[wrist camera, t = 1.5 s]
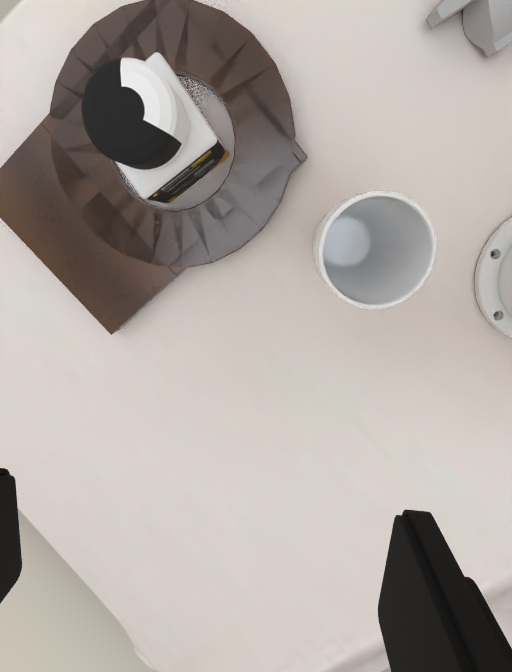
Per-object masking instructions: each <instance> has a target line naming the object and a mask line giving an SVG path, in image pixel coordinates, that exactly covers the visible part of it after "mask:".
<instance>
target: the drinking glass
mask: <svg viewBox="0 0 512 672" xmlns="http://www.w3.org/2000/svg"><path fill="white" fill-rule="evenodd" d="M312 252H313V260H314V264H315V267H316V270H317V272H318V274H319V276H320V278H321V280H322V281H323V282H324V284H325V285H326V286H327V287H328V289H329V290H331V291H332V292H333V293H334V294H335V295H336V296H337V297H339V298H340V299H341V300H343V301H344V302H346V303H348V304H350V305H352V306H355V307H358V308H363V309H372V310H373V309H384V308H389V307H392V306H395V305H398V304H400V303H402V302H404V301H406V300H407V299H409V298H410V297H411V296H413V295H414V294H415V293H416V292H417V291H418V290H419V289H420V288H421V287H422V286H423V285H424V283H425V282H426V280H427V279H428V277H429V275H430V273H431V271H432V269H433V266H434V263H435V259H436V254H437V239H436V233H435V229H434V227H433V224H432V222H431V220H430V218H429V216H428V215H427V213H426V212H425V211H424V210H423V208H422V207H421V206H420V205H418V204H417V203H416V202H415V201H413V200H412V199H410V198H408V197H406V196H404V195H402V194H399V193H395V192H390V191H372V192H365V193H361V194H357V195H354V196H351V197H349V198H347V199H345V200H343V201H341V202H340V203H338V204H337V205H335V206H334V207H333V208H332V209H331V210H329V212H328V213H327V214H326V215H325V216H324V217H323V219H322V220H321V222H320V223H319V225H318V227H317V228H316V231H315V233H314V237H313V247H312Z"/></svg>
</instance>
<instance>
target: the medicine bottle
mask: <svg viewBox="0 0 512 672" xmlns="http://www.w3.org/2000/svg"><path fill="white" fill-rule="evenodd" d="M81 111H82V119H83V124H84V127H85V130H86V132H87V134H88V136H89V138H90V140H91V141H92V143H93V144H94V145H95V147H96V148H97V149H98V150H99V151H100V152H101V153H102V154H104V155H105V156H106V157H108V158H110V159H111V160H113V161H115V162H116V163H117V165H118V166H119V168H120V169H121V170H122V172H123V173H124V174H125V176H126V177H127V179H128V180H129V181H130V183H131V184H132V185H133V187H134V188H135V190H136V191H137V192H138V194H139V195H140V196H141V197H142V198H143V199H148V200H153V201H159V202H164V203H170V202H171V201H172V200H174V199H175V198H176V197H177V196H179V195H180V194H181V193H182V192H184V191H185V190H186V189H188V188H189V187H190V186H191V185H193V184H194V183H195V182H197V181H198V180H199V179H200V178H202V177H203V176H204V175H205V174H207V173H208V172H209V171H211V170H212V169H213V168H214V167H216V166H217V165H218V164H220V163H221V162H222V161H223V160H225V159H226V158H227V157H228V151H227V150H226V148H225V147H224V145H223V144H222V142H221V141H220V139H219V138H218V136H217V135H216V133H215V132H214V130H213V129H212V127H211V126H210V124H209V123H208V121H207V120H206V118H205V117H204V115H203V114H202V112H201V111H200V109H199V108H198V106H197V105H196V103H195V102H194V100H193V99H192V97H191V96H190V94H189V93H188V91H187V90H186V89H185V87H184V86H183V84H182V83H181V81H180V80H179V78H178V77H177V76H176V74H175V73H174V71H173V70H172V69H171V67H170V66H169V64H168V63H167V62H166V60H165V59H164V57H163V56H162V55H161V54H160V53H157V52H156V53H154V54H153V55H152V56H150V57H149V58H148V59H147V60H146V61H145V62H144V61H141V60H138V59H134V58H118V59H114V60H111V61H109V62H107V63H105V64H103V65H102V66H101V67H99V68H98V69H97V70H96V71H95V72H94V73H93V74H92V76H91V77H90V79H89V80H88V82H87V84H86V86H85V89H84V92H83V97H82V105H81Z"/></svg>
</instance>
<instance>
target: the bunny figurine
mask: <svg viewBox="0 0 512 672" xmlns="http://www.w3.org/2000/svg"><path fill="white" fill-rule="evenodd" d="M462 9H464V11H463V28H464V32H465V35H466V37H467V38H468V39H469V40H470V41H471V42H472V43H473V44H474V45H476V46H478V47H479V48H481V49H483V50H484V52H485V54H486V56H487V57H488V56H490V55H492V54H494V53H496V52H498V51H499V50H501V49H502V48H504V47H505V46H506V45H508V44H509V43H511V42H512V0H441V2H440V3H439V4H438V5H437V6H436V7H435V9H434V10H433V11H432V12H431V13H430V15H429V16H428V17H427V18H426V19H425V20H426V21H427V23H428V24H429V26H430V27H431V28H433V27H435V26H436V25H438V24H440V23H441V22H443V21H445V20H446V19H448V18H450V17H451V16H453V15H455V14H456V13H458V12H459V11H461V10H462Z"/></svg>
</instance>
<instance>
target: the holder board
mask: <svg viewBox="0 0 512 672" xmlns="http://www.w3.org/2000/svg"><path fill="white" fill-rule="evenodd" d="M156 52H157V53H160V54H161V55H162V56H163V57H164V59H165V60H166V62H167V63H168V64H169V66H170V67H171V69H172V70H173V71H174V73H175V74H176V75H180V76H186V77H189V78H191V79H194V80H197V81H199V82H201V83H203V84H204V85H205V86H207V87H208V88H209V89H211V90H212V91H213V92H215V93H216V95H217V96H218V97H219V98H220V100H221V101H222V102H223V103H224V105H225V106H226V108H227V110H228V112H229V115H230V117H231V119H232V124H233V129H234V135H235V149H234V159H233V162H232V165H231V168H230V171H229V174H228V176H227V177H226V179H225V181H224V182H223V184H222V186H221V187H220V189H219V190H218V191H217V192H216V193H214V194H213V195H212V196H211V197H210V198H209V199H208V200H207V201H205V202H203V203H201V204H199V205H197V206H195V207H193V208H190V209H185V210H180V211H169V210H162V209H159V208H157V207H154V206H151V205H149V204H148V203H146V202H145V201H143V200H142V199H140V198H139V197H138V196H136V195H135V194H134V193H133V191H132V190H131V189H130V188H129V187H128V186H127V185H126V183H125V182H124V180H123V178H122V176H121V174H120V172H119V170H118V168H117V165H116V162H115V161H113V160H111V159H110V158H108V157H106V156H105V155H104V154H102V153H101V152H100V151H99V150H98V149H97V148H96V147H95V145H94V144H93V143H92V141H91V140H90V138H89V136H88V134H87V132H86V130H85V127H84V124H83V119H82V111H81V105H82V97H83V92H84V89H85V86H86V84H87V82H88V80H89V79H90V77H91V76H92V74H93V73H94V72H95V71H96V70H97V69H98V68H99V67H101V66H102V65H103V64H105V63H107V62H109V61H111V60H114V59H118V58H134V59H138V60H141V61H144V62H145V61H146V60H147V59H148V58H149V57H150V56H152V55H153V54H154V53H156ZM306 159H307V155H306V154H305V153H304V152H303V150H302V149H301V148H300V147H299V145H298V144H297V143H296V141H295V130H294V123H293V117H292V110H291V104H290V98H289V95H288V92H287V90H286V88H285V85H284V83H283V81H282V78H281V76H280V73H279V71H278V69H277V66H276V64H275V62H274V61H273V60H272V58H271V57H270V56H269V54H268V53H267V52H266V50H265V49H264V48H263V47H262V45H261V44H260V43H259V41H258V40H257V39H256V37H255V36H254V35H253V34H252V33H251V32H250V31H249V30H247V29H246V28H245V27H243V26H242V25H241V24H239V23H238V22H237V21H235V20H234V19H233V18H231V17H230V16H229V15H227V14H226V13H225V12H223V11H221V10H218V9H215V8H213V7H210V6H207V5H205V4H202V3H199V2H197V1H194V0H144V1H140V2H136V3H132V4H128V5H125V6H123V7H122V6H121V7H120V8H118V9H117V10H115V11H113V12H112V13H110V14H109V15H107V16H105V17H104V18H102V19H101V20H99V21H98V22H96V23H94V24H93V25H92V26H91V27H90V29H89V30H88V31H87V32H86V33H85V34H84V35H83V37H82V38H81V39H80V40H79V41H78V42H77V43H76V45H75V46H74V47H73V48H72V49H71V51H70V53H69V55H68V57H67V59H66V61H65V63H64V65H63V67H62V69H61V71H60V74H59V76H58V78H57V80H56V83H55V87H54V92H53V97H52V102H51V108H50V113H49V114H48V115H47V117H46V118H45V119H44V120H43V121H42V122H41V123H40V124H39V126H38V127H37V128H36V129H35V130H34V131H33V132H32V133H31V135H30V136H29V137H28V138H27V139H26V140H25V141H24V142H23V144H22V145H21V146H20V147H19V148H18V149H17V150H16V151H15V152H14V154H13V155H12V156H11V157H10V158H9V159H8V160H7V161H6V163H5V164H4V165H3V166H2V167H1V168H0V218H1V219H2V220H3V221H4V222H5V223H6V224H7V225H8V226H9V227H10V228H11V229H12V230H13V231H14V232H15V233H16V234H17V236H18V237H19V238H20V239H21V240H22V241H23V242H24V243H25V244H26V245H27V246H28V247H29V248H30V249H31V250H32V251H33V252H34V254H35V255H36V256H37V257H38V258H39V259H40V260H41V261H42V262H43V263H44V264H45V265H46V266H47V267H48V268H49V269H50V270H51V272H52V273H53V274H54V275H55V276H56V277H57V278H58V279H59V280H60V281H61V282H62V283H63V284H64V285H65V286H66V287H67V288H68V289H69V291H70V292H71V293H72V294H73V295H74V296H75V297H76V298H77V299H78V300H79V301H80V302H81V303H82V304H83V305H84V306H85V307H86V309H87V310H88V311H89V312H90V313H91V314H92V315H93V316H94V317H95V318H96V319H97V320H98V321H99V322H100V323H101V324H102V325H103V326H104V328H105V329H106V330H107V331H108V332H109V333H110V334H111V335H112V334H113V333H115V332H117V331H118V330H119V329H120V328H121V327H122V326H123V325H125V324H126V323H127V322H128V321H129V320H130V319H131V318H132V317H133V316H134V315H136V314H137V313H138V312H139V311H140V310H141V309H142V308H143V307H144V306H146V305H147V304H148V303H149V302H150V301H151V300H152V299H153V298H154V297H155V296H157V295H158V294H159V293H160V292H161V291H162V290H163V289H164V288H165V287H166V286H168V285H169V284H170V283H171V282H172V281H173V280H174V279H175V278H176V277H178V276H179V275H180V274H181V273H182V272H183V271H184V270H185V269H186V268H187V267H192V266H197V265H203V264H208V263H212V262H214V261H216V260H218V259H221V258H223V257H225V256H227V255H229V254H231V253H233V252H235V251H237V250H239V249H240V248H242V247H243V246H244V245H245V244H246V243H247V242H249V241H250V240H251V239H252V238H253V237H254V236H255V235H256V234H258V233H259V232H260V231H261V230H262V229H263V228H264V227H265V225H266V224H267V222H268V221H269V219H270V218H271V216H272V215H273V213H274V212H275V210H276V209H277V207H278V206H279V204H280V202H281V200H282V197H283V194H284V191H285V189H286V186H287V183H288V180H289V177H290V174H291V173H292V172H293V171H295V170H296V169H297V168H298V167H299V166H300V165H301V164H302V163H303V162H304V161H306Z"/></svg>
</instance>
